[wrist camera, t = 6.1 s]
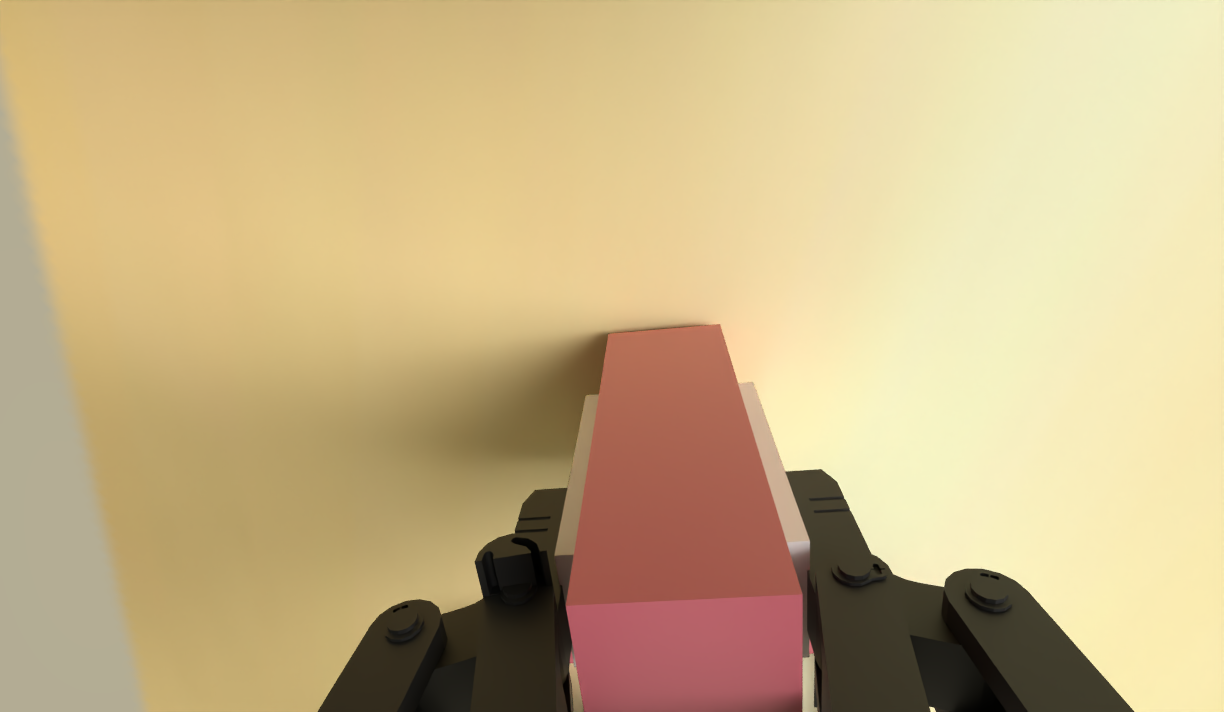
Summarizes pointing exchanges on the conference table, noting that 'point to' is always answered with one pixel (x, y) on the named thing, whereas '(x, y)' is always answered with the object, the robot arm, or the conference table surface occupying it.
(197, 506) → the conference table surface
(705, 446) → the pull frame
